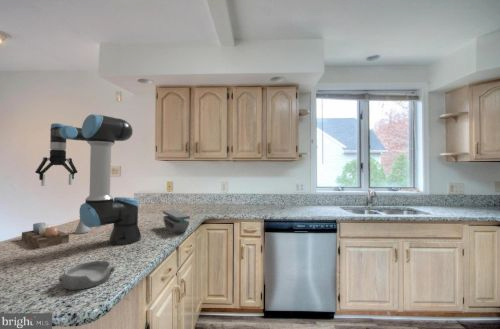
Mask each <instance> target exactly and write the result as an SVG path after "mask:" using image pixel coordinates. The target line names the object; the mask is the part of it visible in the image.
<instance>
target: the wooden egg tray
mask: <svg viewBox="0 0 500 329" xmlns="http://www.w3.org/2000/svg"><path fill="white" fill-rule="evenodd" d="M21 241H23V242H25V243H28V244H30V245H32V246H34V247H36V248H38V249H42V248H48V247H52V246H57V245H62V244H66V243H70V234H69V233H66V232H63V231H61V230H58V236H56V237H50V238H45V235H41V236H40V235H39V232H38V233H33V230H28V231H27V230H26V231H22V232H21Z"/></svg>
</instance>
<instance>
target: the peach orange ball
mask: <svg viewBox="0 0 500 329" xmlns="http://www.w3.org/2000/svg"><path fill="white" fill-rule="evenodd" d="M58 231H59V226H52V227H48V228H46V229H45V238H50V237H56V236H58Z"/></svg>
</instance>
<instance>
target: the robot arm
mask: <svg viewBox="0 0 500 329" xmlns="http://www.w3.org/2000/svg"><path fill="white" fill-rule="evenodd" d="M49 132H50V135H49V136H50V137H49V138H50V143H49V148H50V149H49V157H47V156H44V157H43V158H42V160H41V162H40V164H39V166H38V167H37V169H36V170H35V174H38V175H39V176H38V177H39V179H38V180H40V181H41V182H40V183H41V184H40V185H41V186H42V187H45V186H46V184H45V182H46V172H47V171H48V170H49V169H50V168H52V166H62V167H64V168H65V169H66V171H67V172H69V174H68V185H70V186H71V185H73V180H74V179H75V177H74V176H75V175H76V174H77V173H78V170H77V169H76V168H77V167H76V166H75V165H74V162H73V159H72V158H70V157H68V158H67V151H66V150H67V140H71V141H72V140H73V141H83V142H87V144H89V146H90V156H89V157H90V160H89V162H90V163H89V164H90V165H89V192H88V193H89V195H88V196H87V197H86V198H85V202H84V203H82V204H81V205H80V207H79V216H80V217H79V219H80V218H81V220H82V222H83V224H84V225H85V226H87V227H89V228H95V227H96V228H98V227H101V226H108V225H111V224H112V225H113V226H112V231H111V232H110V236H109V238H108V239H109V241H108V242H109V244H111V245H117V246H118V245H119V246H120V245H121V246H122V245H131V244H135V243H137V242H139V241H141V240H142V233H141V231H140V228H139V224H138V223H139V200H138V199H137V198H134V197H125V196H122V197H120V196H115V197H113V196H112V195H111V167H112V166H111V163H112V147H113V146H114V145H115V142H125V141H127V140H129V139H131V137H132V135H133V132H134V131H133V127H132V125H131V124H130V123H129V122H128V121H127V120H125V119H122V118H116V117H113V116H107V115H102V114H93V113H91V114H89V115H87V116H86V117H85V119H84V120H83V122H82V126H81V127H76V126H75V127H74V126H73V125H66V124H64V123H51V125H50V131H49ZM48 161H49V163H48V164H47V165H46V163H47V162H48ZM66 162H67V163H68V164H67V163H66ZM45 165H46V166H45Z"/></svg>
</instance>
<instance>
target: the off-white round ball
mask: <svg viewBox="0 0 500 329" xmlns="http://www.w3.org/2000/svg"><path fill="white" fill-rule="evenodd" d="M48 227H53V226H52V224H45V225H41V226H39V235H40V236H41V235H45V229H46V228H48Z"/></svg>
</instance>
